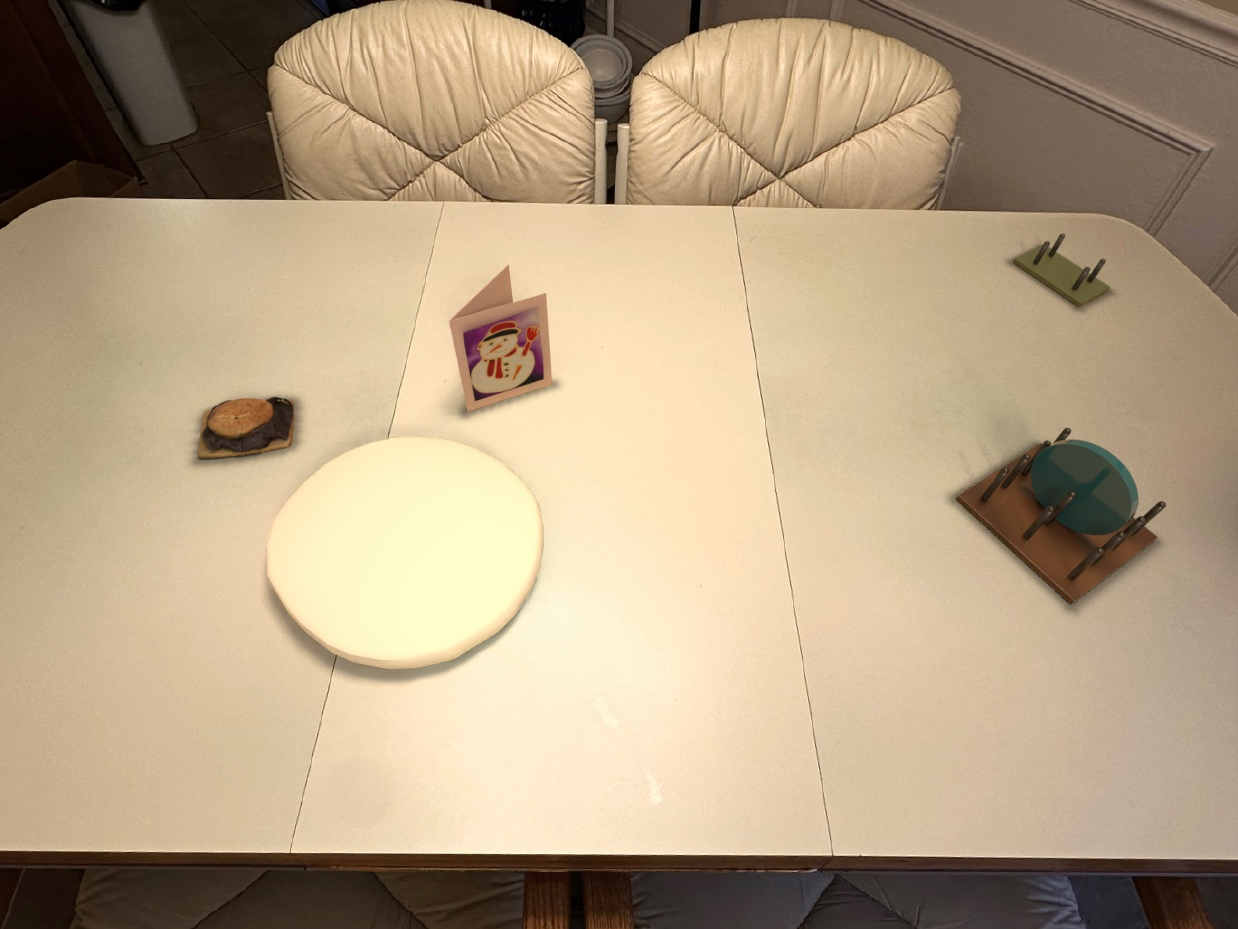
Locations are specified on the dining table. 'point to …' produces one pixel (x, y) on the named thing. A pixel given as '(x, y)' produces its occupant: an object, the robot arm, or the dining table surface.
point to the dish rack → (1052, 529)
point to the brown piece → (246, 427)
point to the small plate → (1085, 486)
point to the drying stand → (1062, 273)
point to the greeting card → (501, 344)
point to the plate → (406, 551)
